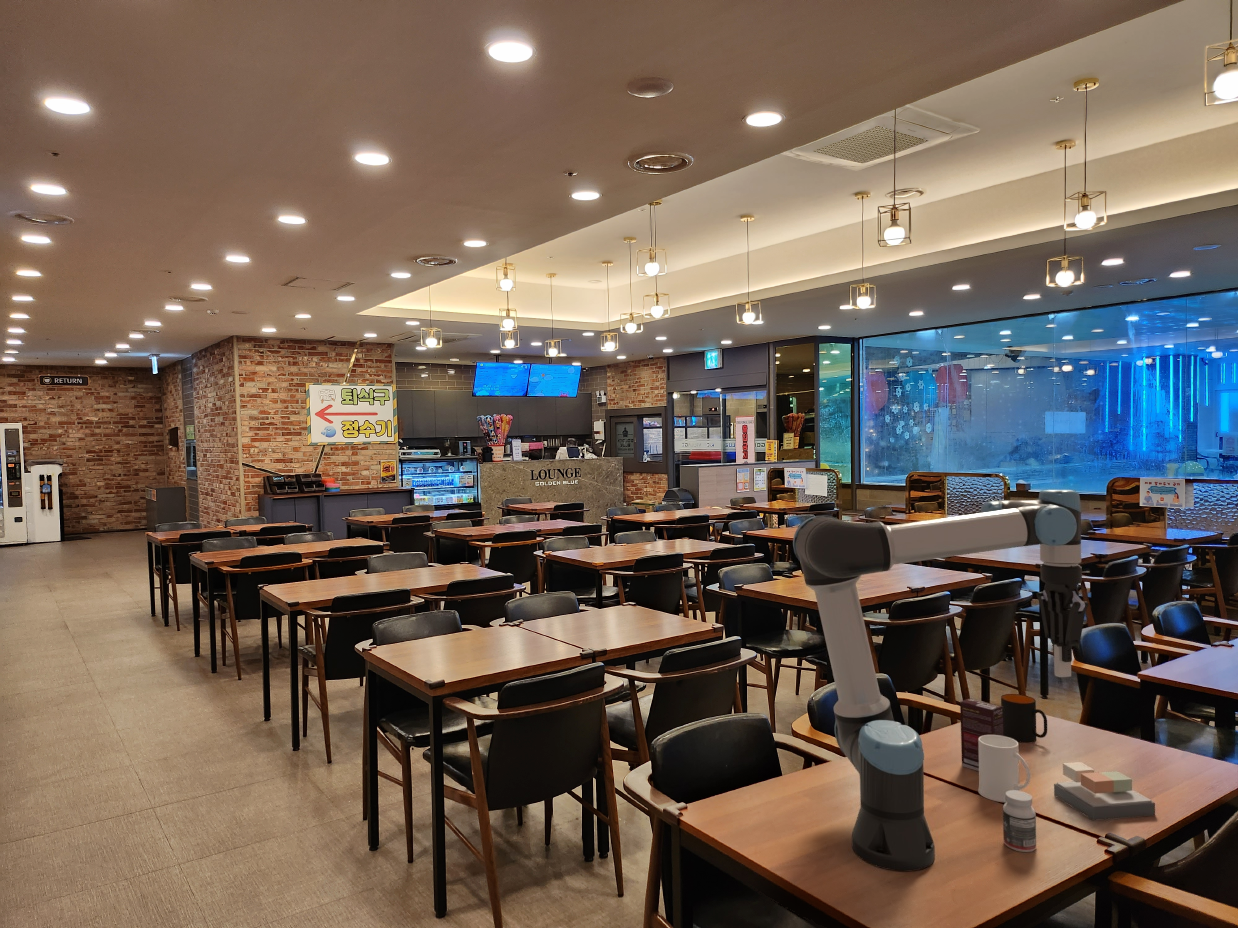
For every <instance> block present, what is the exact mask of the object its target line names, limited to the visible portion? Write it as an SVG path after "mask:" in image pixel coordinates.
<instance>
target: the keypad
mask: <svg viewBox="0 0 1238 928" xmlns="http://www.w3.org/2000/svg"><path fill="white" fill-rule="evenodd" d="M1053 794H1054V797H1056V798H1057V799H1059V800H1060V801H1063V802H1064V803H1065V804H1066V805H1068V806H1070V807H1071V808H1073V809H1074V810H1076V811H1078V812H1079V813H1081V814H1083V816H1086V817H1087V818H1089V819H1090V820H1092V821H1102V820H1103V821H1104V820H1117V819H1127V818H1138V817H1153V816H1156V802H1154V801H1152V799H1150V798H1148V797H1146V796H1144V794H1141V793H1139V792H1138V791H1136V790H1134V789H1132V791H1123V792H1110V793H1098V794H1095V793H1093V792H1092V791H1090V790H1088V789H1087V788H1085V787H1083V786H1081V782H1075V781H1073V780H1072V781H1062V782H1061V781H1060V782H1059V781H1058V782H1056V783H1053Z"/></svg>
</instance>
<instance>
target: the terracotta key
mask: <svg viewBox="0 0 1238 928" xmlns="http://www.w3.org/2000/svg"><path fill="white" fill-rule="evenodd" d="M1081 786H1083V787H1085V788H1087V789H1088V790H1090V791H1092V792H1093V793H1095V794H1098V793H1110V792H1114V780H1112V779H1110V778H1109V777H1107V776H1105V775H1103V774H1101V773H1100V771H1099V772H1095V771H1094V773H1082V774H1081Z"/></svg>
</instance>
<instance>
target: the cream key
mask: <svg viewBox="0 0 1238 928" xmlns="http://www.w3.org/2000/svg"><path fill="white" fill-rule="evenodd" d="M1082 773H1095V769H1094V768H1092V767H1090V766H1089V765H1086V764H1085V763H1083V762H1081V761H1077V762H1076V761H1075V762H1063V763H1062V775H1063V776H1064V777H1066V778H1068V779H1070V780H1072V781H1075V782H1081V774H1082Z"/></svg>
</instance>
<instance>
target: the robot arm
mask: <svg viewBox="0 0 1238 928" xmlns="http://www.w3.org/2000/svg"><path fill="white" fill-rule="evenodd" d="M1082 512H1083V511H1082V507H1081V498H1080V493H1078V491H1075V490H1073V489H1043V490H1041V491H1040V492H1039V494H1038V498H1037V499H1033V500H1000V499H999V500H993V501H992V500H991V501H986V502H985V503H984V504H982V505H981V508H980V511H979V512H978V513H971V514H965V515H964V514H963V515H956V516H948V517H942V518H935V519H928V520H927V519H926V520H920V521H913V522H912V521H911V522H906V523H899V524H898V523H897V524H891V525H885V524H884V523H883V522H882V521H873V522H851V521H846V520H843V519H842V520H841V519H838V518H836V517H834V516H831V515H816V516H812V517H809V518H806V520H804V521H802V523H800V525H798V527H797V528H796V530H795V531H794V535H793V541H792V546H793V553H794V554H795V557H796V558H797V559H798V561H799V562H800V565H801V569H802V575H803V580H804V583H805V586H806V587H808V588H809V589H811V590H813V592H814V594H815V599H816V603H817V607H818V608H817V609H818V613H819V617H820V621H821V625H822V630H823V635H824V639H825V643H826V644H825V645H826V648H827V652H828V656H829V661H830V665H831V666H830V667H831V670H832V676H833V679H834V683H835V684H834V685H835V690H836V693H837V698H838V700H837V701H836V703H835V704H834V706H833V712H834V718H835V722H834V735H835V740H836V742H837V745H838V748H839V749H840V751H841V753H842V754H843V755H845V757H846V758H847V759H848V761H849V762H850V763H851V765H852V766H853V767H854V769H855V770H856V771H857V773H858V774H859V794H860V798H859V799H860V808H859V810H858V815H857V817H856V820H855V824H854V826H853V829H852V833H851V847H852V850H853V852H854V854H856V856H858V857H859V858H860V859H861V858H862V859H861V860H863V861H865V862H866V863H868V864H870V865H873V866H875V867H879V868H882V869H886V870H890V871H898V872H899V871H901V872H903V871H904V872H907V871H908V872H909V871H910V872H912V871H919V870H923V869H925V868H927V867H930V866H931V865H932V864H933V863H934V862H935V859H936V858H935V857H936V854H935V853H936V851H935V850H936V847H935V842H934V839H933V836H932V833H931V830H930V828H929V825H928V823H927V819H926V815H925V791H924V790H925V789H924V788H925V787H924V786H925V784H924V782H925V781H924V780H925V779H924V777H925V775H924V772H925V771H924V760H925V753H924V748H923V742H922V738H921V736H920V735H919V733H918V731H916V730H915V729H913V728H912V727H910V726H908V725H906V724H902V723H901V722H898V721H895V719H894V716H893V712H892V708H891V702H890V699H888V698H887V697H886V696H883V694H882V693H881V692H880V687H879V683H878V679H877V673H876V671H875V666H874V660H873V656H872V652H871V647H870V643H869V638H868V634H867V630H866V623H865V619H864V614H863V611H862V605H861V600H860V597H859V593H858V588H857V583H858V581H859V580H860V579H861V577H862V576H864V575H869V574H875V573H883V572H888V571H889V572H890V570H891V569H892V568H893V566H894V565H901V564H906V563H907V564H908V563H913V562H921V561H930V560H935V559H943V558H949V557H956V556H965V555H970V554H971V555H972V554H979V553H987V552H991V551H1001V550H1005V549H1014V548H1019V547H1020V548H1022V547H1031V546H1039V560H1040V561H1041V562H1042V563H1041V564H1040V580H1041V581H1042V582H1043V583H1045V585H1044V589H1043V591H1037V592H1036V594H1035V595H1036V597H1037V600H1038V603H1039V606H1040V612H1041V619H1042V624H1043V630H1044V637H1045V638H1046V639H1049V640H1050V642H1051V644H1052V654H1053V660H1054V661H1053V663H1054V665H1053V667H1054V668H1053V669H1054V670H1053V672H1054V676H1055V677H1057V678H1069V677H1070V678H1071V677H1072V661H1073V647H1074V646H1079V645H1081V640H1082V634H1083V633H1082V632H1083V627H1084V621H1085V615H1086V611H1087V609H1088V607H1089V603H1088V601H1083V600H1082V599H1081V597H1079V596H1080V591H1079V589H1078V585H1080V584H1081V583H1083V582H1082V581H1083V569H1082V566H1081V565H1080V564H1081V563H1082Z"/></svg>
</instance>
